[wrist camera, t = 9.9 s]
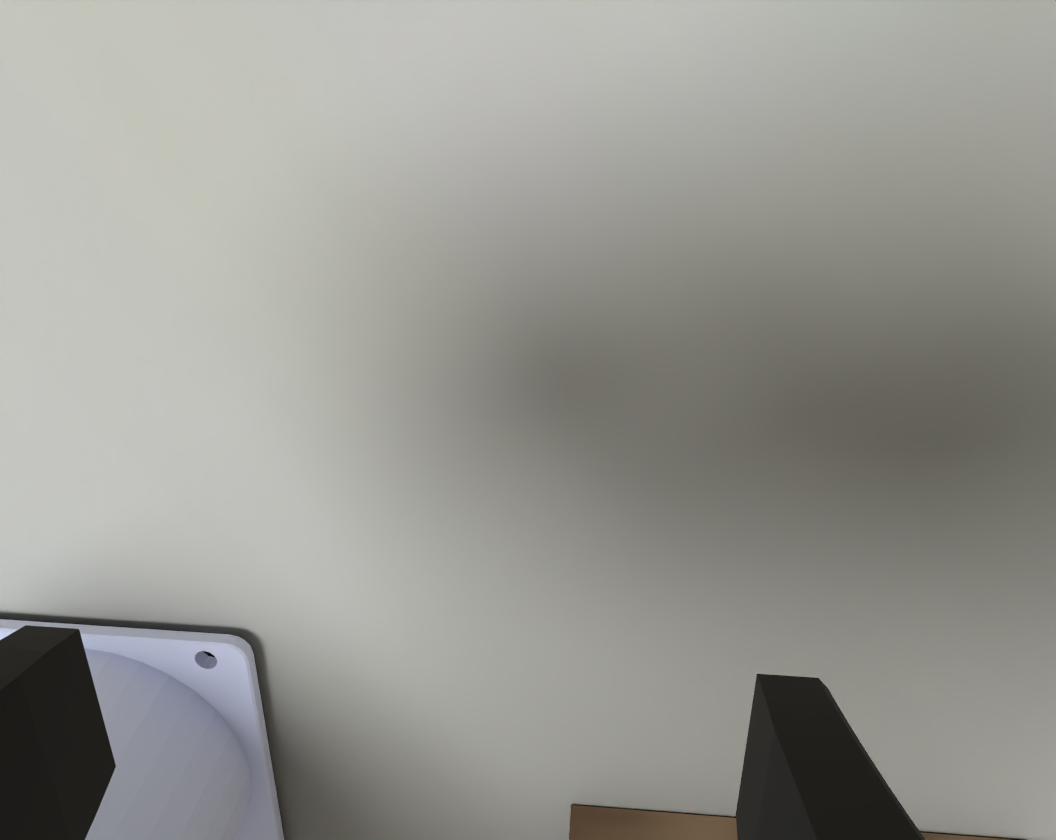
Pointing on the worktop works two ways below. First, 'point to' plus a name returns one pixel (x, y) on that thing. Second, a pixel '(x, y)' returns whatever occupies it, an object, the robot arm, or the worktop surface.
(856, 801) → the robot arm
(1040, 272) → the worktop surface
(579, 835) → the gear board
